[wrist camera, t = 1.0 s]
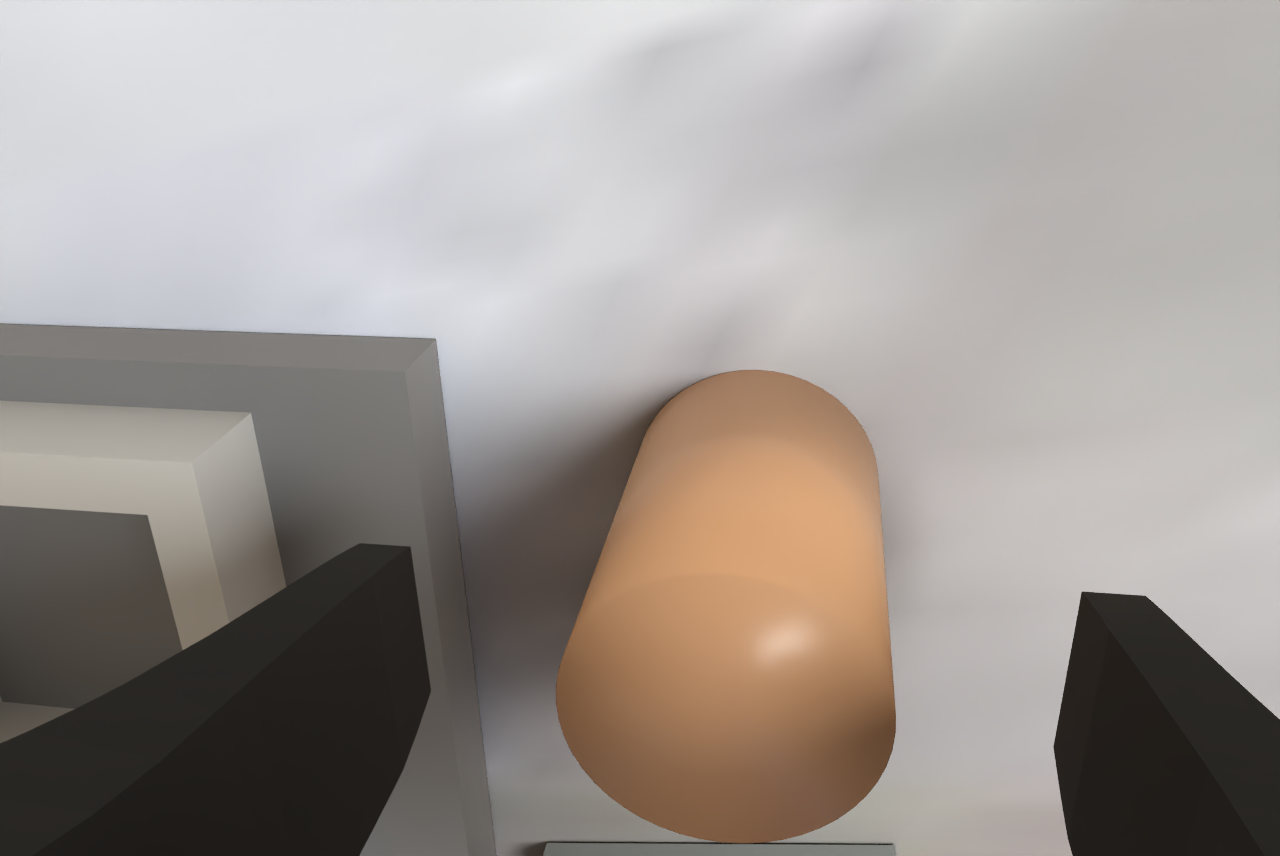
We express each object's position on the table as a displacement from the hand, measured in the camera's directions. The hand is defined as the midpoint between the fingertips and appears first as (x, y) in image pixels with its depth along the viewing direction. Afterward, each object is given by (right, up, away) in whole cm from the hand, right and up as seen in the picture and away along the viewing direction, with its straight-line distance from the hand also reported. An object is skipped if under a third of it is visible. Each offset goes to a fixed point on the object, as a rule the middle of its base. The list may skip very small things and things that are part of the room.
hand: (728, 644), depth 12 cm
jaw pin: (+1, +2, +3) cm, 4 cm away
